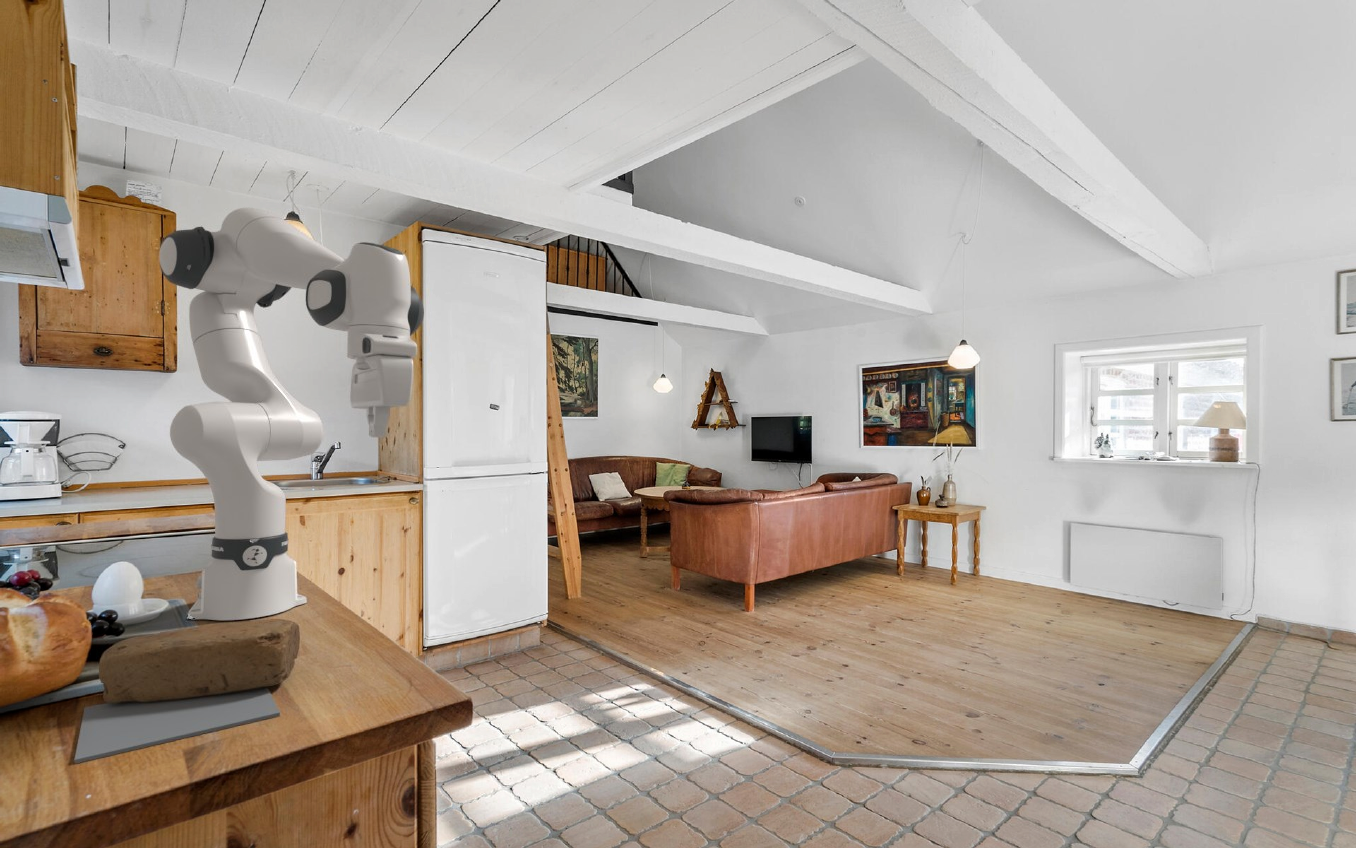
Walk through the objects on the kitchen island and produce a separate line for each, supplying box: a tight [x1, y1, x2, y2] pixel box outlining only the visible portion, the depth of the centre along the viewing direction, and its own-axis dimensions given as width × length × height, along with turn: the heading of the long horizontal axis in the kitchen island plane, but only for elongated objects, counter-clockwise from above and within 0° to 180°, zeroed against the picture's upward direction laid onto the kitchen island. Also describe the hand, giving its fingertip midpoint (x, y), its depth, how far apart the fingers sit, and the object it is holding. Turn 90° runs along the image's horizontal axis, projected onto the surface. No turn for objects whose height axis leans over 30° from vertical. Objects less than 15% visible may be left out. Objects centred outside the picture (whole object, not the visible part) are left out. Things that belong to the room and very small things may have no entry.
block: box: [98, 618, 301, 704], centre depth 85 cm, size 11×8×20 cm
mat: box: [73, 686, 281, 765], centre depth 78 cm, size 16×18×1 cm
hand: (377, 437), depth 101 cm, fingers closed
